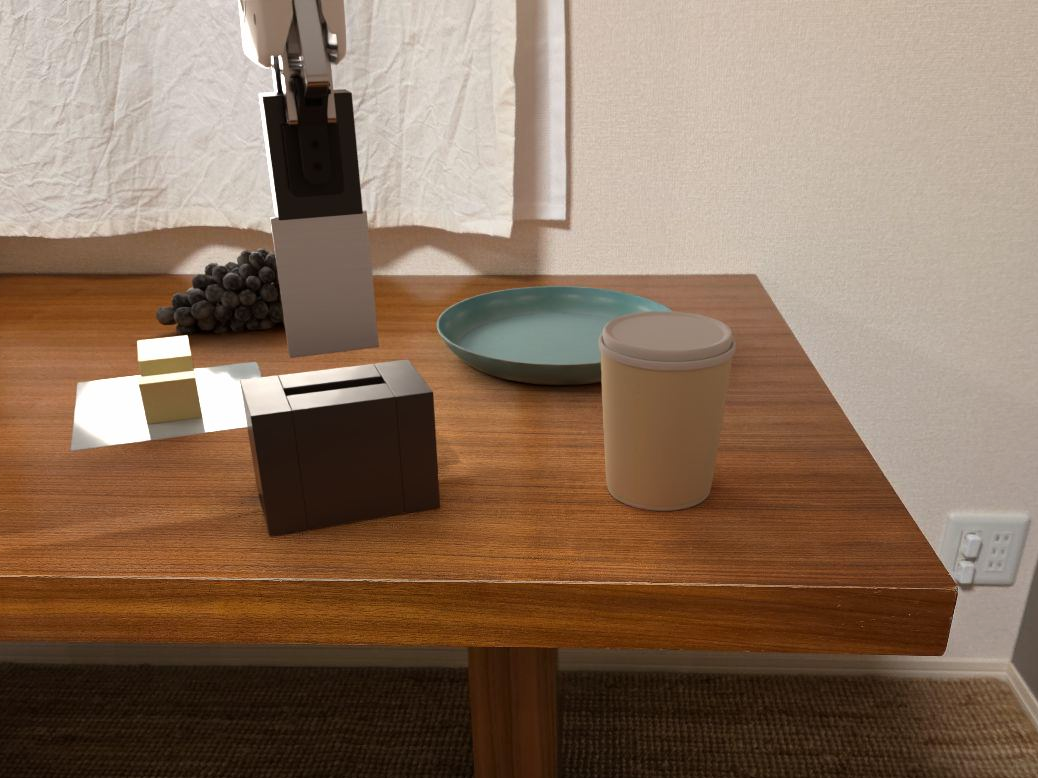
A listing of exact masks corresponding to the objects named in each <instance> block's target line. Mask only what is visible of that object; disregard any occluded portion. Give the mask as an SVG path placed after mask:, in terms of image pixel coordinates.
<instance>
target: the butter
mask: <svg viewBox="0 0 1038 778" xmlns="http://www.w3.org/2000/svg"><path fill="white" fill-rule="evenodd" d="M136 351H137V364H138V368H139V373H140V374H139V375H141V377H146V376H154V375H163V374H171V373H180V372H188V371H194V369H195V367H194V362H193V361H194V360H193V356H192V350H191V345H190V340H189V336H188V335H177V336H167V337H158V338H149V339H140V340H139V339H138V340H136ZM194 374H195V372H194ZM195 379H196V377H195ZM196 384H197V383H196ZM197 390H198V388H197Z"/></svg>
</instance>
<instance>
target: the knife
mask: <svg viewBox="0 0 1038 778" xmlns="http://www.w3.org/2000/svg"><path fill="white" fill-rule="evenodd" d="M333 91H334V100H335V110H336V123H338V126H339V136H340V146H341V156H342V166H343V176H344V186H345V188H344V191H343V193H341V194H338V195H324V196H311V197H295V196H294V195H293V194H292V193H291V190H290V183H289V175H288V167H287V159H286V151H285V143H284V135H283V127H282V126H283V125H288V124H287V119H286V111H285V103H284V95H283V92H275V91H273V92H259V93H258V100H259V108H260V114H261V122H262V131H263V137H264V143H265V152H266V158H267V159H266V160H267V166H268V174H269V181H270V182H269V183H270V188H271V196H272V203H273V204H272V205H273V210H274V215H275V217H274V216H273V217H269V221H270V227H271V228H270V229H271V234H272V242H273V248H274V249H273V250H274V252H275V257H276V265H277V272H278V279H279V286H280V294H281V301H282V308H283V316H284V323H285V324H284V329H285V336H286V343H287V351H288V356H289V359H295V358H302V357H311V356H319V355H327V354H335V353H343V352H352V351H358V350H359V351H360V350H366V349H375V348H379V347H380V343H379V342H380V341H379V330H378V320H377V310H376V309H377V308H376V298H375V287H374V276H373V264H372V255H371V243H370V233H369V231H370V230H369V221H368V211H367V209H363V198H362V189H361V187H362V186H361V177H360V167H359V154H358V145H357V135H356V124H355V123H356V121H355V112H354V102H353V101H354V100H353V93H352V92H351V91H349V90H347V89H346V88H342V89H341V88H340V89H333Z"/></svg>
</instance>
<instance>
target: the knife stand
mask: <svg viewBox="0 0 1038 778" xmlns="http://www.w3.org/2000/svg"><path fill="white" fill-rule="evenodd" d="M240 385H241V391H242V397H243V404H244V410H245V416H246V422H247V427H246V429H247V434H248V440H249V446H250V453H251V458H252V465H253V472H254V477H255V483H256V487H257V491H258V495H257V496H258V499H259V502H260V506H261V511H262V514H263V517H264V521H265V525H266V529H267V532H268V536H269V537H274V536H281V535H286V534H287V535H288V534H292V533H299V532H304V531H305V532H306V531H308V530H316V529H322V528H328V527H333V526H340V525H345V524H351V523H358V522H363V521H368V520H374V519H375V520H376V519H381V518H387V517H392V516H398V515H404V514H409V513H416V512H422V511H428V510H434V509H439V508H441V498H440V497H441V496H440V480H439V464H438V463H439V462H438V449H437V448H438V447H437V430H436V416H435V415H436V414H435V399H434V398H435V397H434V391H433V390H432V389H431V387H430V386H429V384H428V383H427V381H425V379H424V378H423V377H422V375H421V374H420V373H419V371H418V369H416V367H415V366H414V364H413V363H412V362H411V360H410V359H400V360H393V361H391V360H390V361H385V362H376V363H370V364H362V365H352V366H344V367H336V368H335V367H334V368H327V369H321V370H320V369H319V370H311V371H304V372H303V371H302V372H295V373H288V374H279V375H269V376H262V377H260V378H252V379H244V380H240Z"/></svg>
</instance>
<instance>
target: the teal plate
mask: <svg viewBox="0 0 1038 778" xmlns="http://www.w3.org/2000/svg"><path fill="white" fill-rule="evenodd" d="M652 311H673V310H672V309H671V308H669V307H668V306H666V305H664V304H662V303H660V302H658V301H656V300H653V299H650V298H647V297H644V296H641V295H637V294H633V293H629V292H623V291H618V290H614V289H607V288H599V287H589V286H576V285H575V286H573V285H543V286H542V285H541V286H527V287H515V288H507V289H500V290H496V291H490V292H486V293H481V294H477V295H475V296H471V297H468V298H466V299H463V300H461V301H459V302H456V303H454V304H452V305H451V306H449V307H447V308H446V309H444V311H443V312H441V314H440V315H439V316H438V318H437V320H436V329H437V332H438V334H439V336H440V338H441V340H442V341H443V343H444V344H445V345H446V347H447V348H448V349H449V350H450V352H452V353H453V354H454V355H455V356H456V357H458V358H459V359H460V360H461V361H463V362H464V363H466V364H467V365H469V366H471V367H472V368H474V369H476V370H478V371H480V372H482V373H485V374H487V375H489V374H490V376H492V377H495V378H498V379H503V380H506V381H511V382H516V381H517V383H522V382H523V384H530V383H531V385H544V386H578V385H579V386H581V385H589V384H599V383H602V379H601V351H600V349H599V337H600V335H601V334H602V333H603V329H604V327H605V325H606V324H607V323H608V322H610V321H611V320H613V319H615V318H618V317H621V316H624V315H628V314H633V313H640V312H652Z"/></svg>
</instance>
